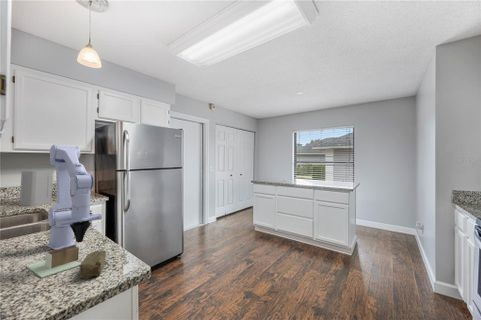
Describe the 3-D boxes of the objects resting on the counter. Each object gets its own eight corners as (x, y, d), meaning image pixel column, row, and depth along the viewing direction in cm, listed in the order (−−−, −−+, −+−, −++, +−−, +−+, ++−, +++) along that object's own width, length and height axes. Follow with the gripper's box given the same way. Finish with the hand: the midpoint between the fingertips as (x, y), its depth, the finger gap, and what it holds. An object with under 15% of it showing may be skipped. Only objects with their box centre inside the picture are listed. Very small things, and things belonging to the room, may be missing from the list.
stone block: (106, 262, 80) (106, 249, 80) (100, 278, 70) (100, 262, 70) (87, 265, 78) (88, 251, 78) (78, 281, 67) (79, 265, 68)
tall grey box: (15, 207, 168) (17, 171, 169) (21, 204, 180) (22, 170, 181) (48, 205, 179) (50, 171, 179) (51, 202, 191) (52, 170, 192)
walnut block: (72, 256, 83) (44, 265, 76) (73, 245, 83) (45, 252, 76) (78, 259, 81) (50, 268, 74) (78, 247, 81) (50, 255, 74)
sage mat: (26, 266, 75) (26, 265, 75) (64, 255, 85) (64, 254, 85) (41, 278, 68) (41, 277, 68) (81, 265, 77) (81, 264, 77)
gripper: (62, 210, 75) (60, 250, 75) (106, 204, 87) (104, 238, 87) (54, 207, 79) (52, 245, 78) (97, 202, 91) (95, 235, 91)
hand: (79, 241), depth 83 cm, fingers closed
